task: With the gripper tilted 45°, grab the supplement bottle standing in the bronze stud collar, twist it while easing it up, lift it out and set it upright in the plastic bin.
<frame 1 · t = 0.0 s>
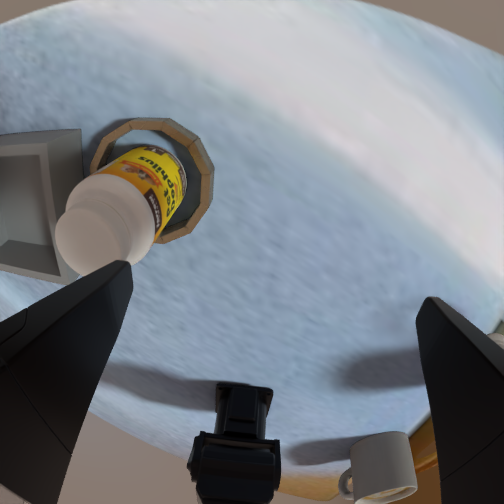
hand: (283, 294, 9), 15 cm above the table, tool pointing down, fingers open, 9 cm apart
bin: (35, 194, 24), on the table
supplement bottle: (154, 177, 23), resting in stud collar
stud collar: (152, 178, 23), on the table
coffee mug: (369, 447, 44), on the table
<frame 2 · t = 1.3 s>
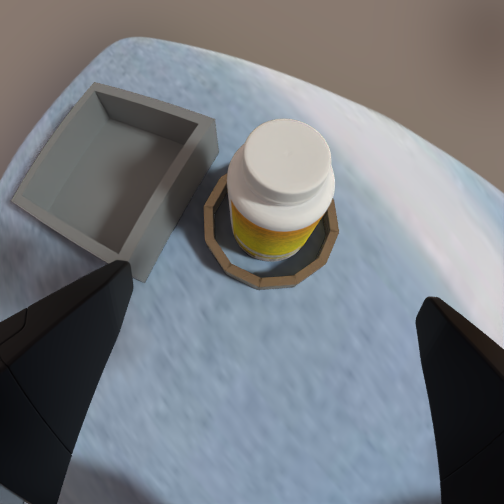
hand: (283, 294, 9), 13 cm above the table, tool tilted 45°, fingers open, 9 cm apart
bin: (122, 185, 24), on the table
supplement bottle: (269, 226, 24), resting in stud collar
stud collar: (270, 225, 24), on the table
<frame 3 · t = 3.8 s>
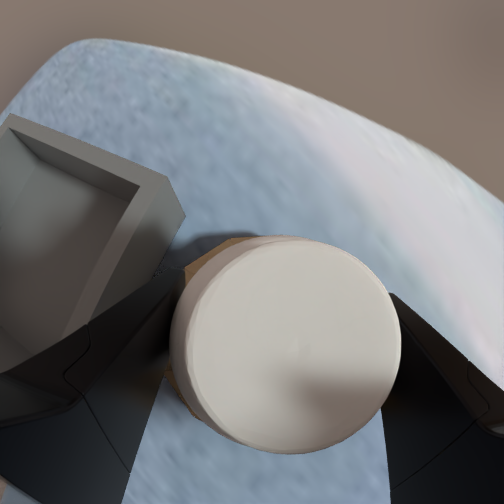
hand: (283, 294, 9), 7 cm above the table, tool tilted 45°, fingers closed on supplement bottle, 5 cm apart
bin: (53, 264, 16), on the table
supplement bottle: (262, 338, 15), resting in stud collar, touching gripper
stud collar: (263, 338, 15), on the table
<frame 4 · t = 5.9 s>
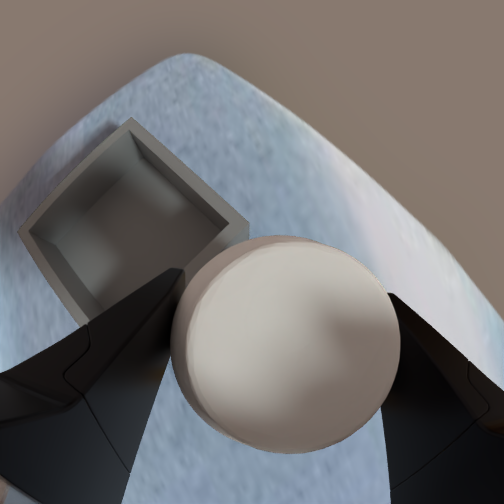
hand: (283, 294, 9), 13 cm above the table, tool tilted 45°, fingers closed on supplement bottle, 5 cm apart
bin: (137, 244, 23), on the table
supplement bottle: (263, 337, 15), point 6 cm above the table, touching gripper
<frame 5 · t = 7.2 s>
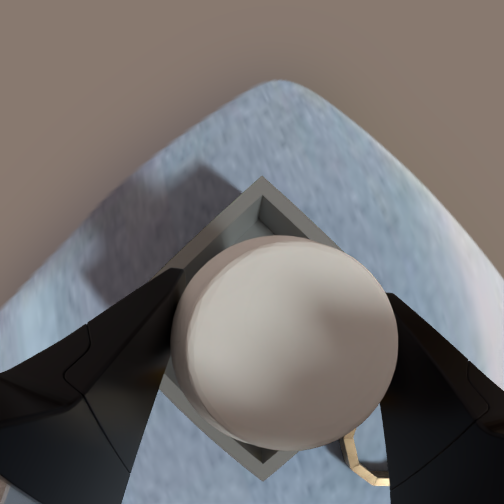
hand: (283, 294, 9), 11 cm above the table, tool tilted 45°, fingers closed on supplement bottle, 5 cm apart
bin: (259, 330, 20), on the table
supplement bottle: (263, 336, 15), point 4 cm above the table, touching gripper
stud collar: (400, 421, 18), on the table
when the fingers open (8 cm above the table, at t = 8.2 s): supplement bottle drops 1 cm, resting on bin.
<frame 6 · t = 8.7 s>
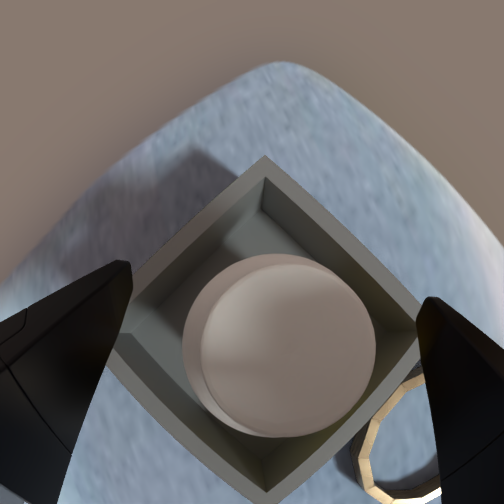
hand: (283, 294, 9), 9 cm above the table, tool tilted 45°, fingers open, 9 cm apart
bin: (261, 337, 17), on the table
supplement bottle: (261, 340, 17), resting on bin
stud collar: (419, 436, 16), on the table
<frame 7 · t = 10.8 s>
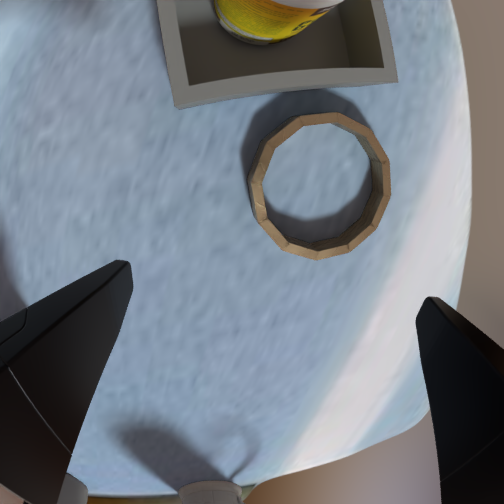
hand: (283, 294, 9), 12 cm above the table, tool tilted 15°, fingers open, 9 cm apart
bin: (259, 8, 15), on the table
glass holder: (227, 487, 35), on the table
supplement bottle: (259, 8, 15), resting on bin
stud collar: (319, 183, 21), on the table
coffee mug: (45, 475, 30), on the table
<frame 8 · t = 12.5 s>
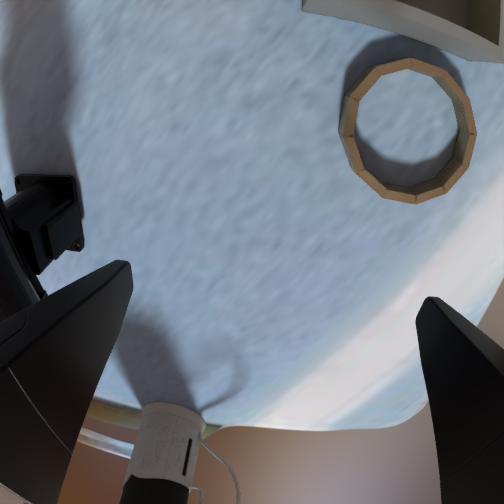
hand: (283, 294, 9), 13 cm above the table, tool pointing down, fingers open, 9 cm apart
glass holder: (193, 419, 37), on the table
stud collar: (407, 129, 18), on the table
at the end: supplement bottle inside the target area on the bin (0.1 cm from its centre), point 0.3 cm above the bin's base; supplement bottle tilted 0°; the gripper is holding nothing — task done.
